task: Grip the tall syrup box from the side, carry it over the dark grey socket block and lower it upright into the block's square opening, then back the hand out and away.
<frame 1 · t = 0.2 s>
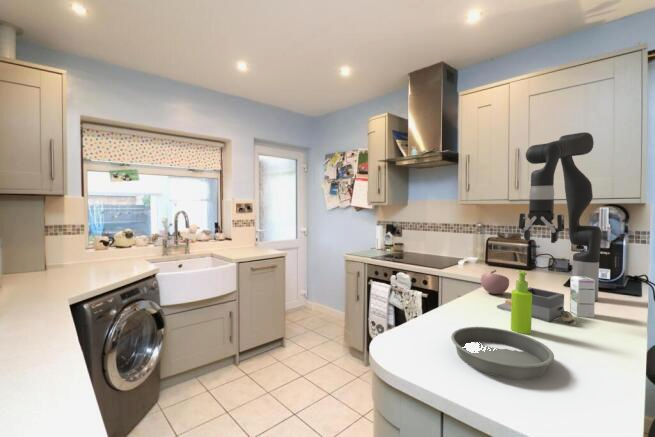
hand: (540, 241, 117), 29 cm above the worktop, tool pointing down, fingers open, 8 cm apart
pink apple: (494, 294, 150), on the worktop
soap dispenser: (520, 330, 106), on the worktop
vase: (565, 324, 112), on the worktop
syrup box: (581, 315, 121), on the worktop
cake pan: (498, 359, 86), on the worktop
socket: (538, 314, 121), on the worktop
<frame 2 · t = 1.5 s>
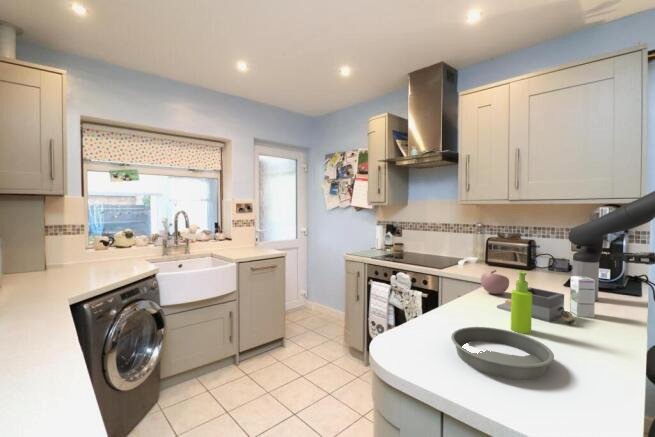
hand: (615, 256, 111), 24 cm above the worktop, tool horizontal, fingers open, 8 cm apart
nothing on the worktop moved.
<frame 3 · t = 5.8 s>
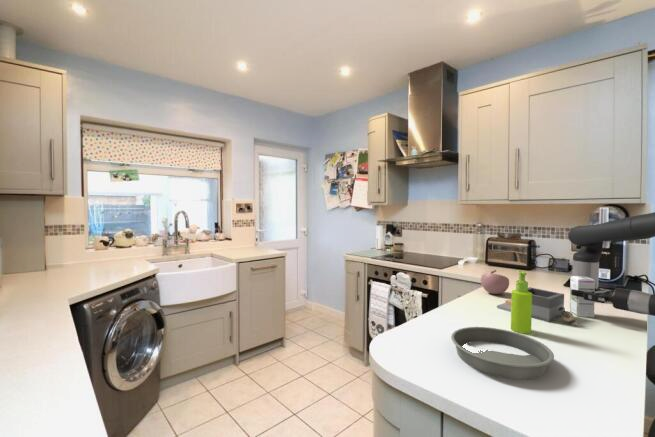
hand: (576, 290, 122), 9 cm above the worktop, tool horizontal, fingers closed on syrup box, 8 cm apart
syrup box: (581, 315, 121), on the worktop, touching gripper
everything else where it was.
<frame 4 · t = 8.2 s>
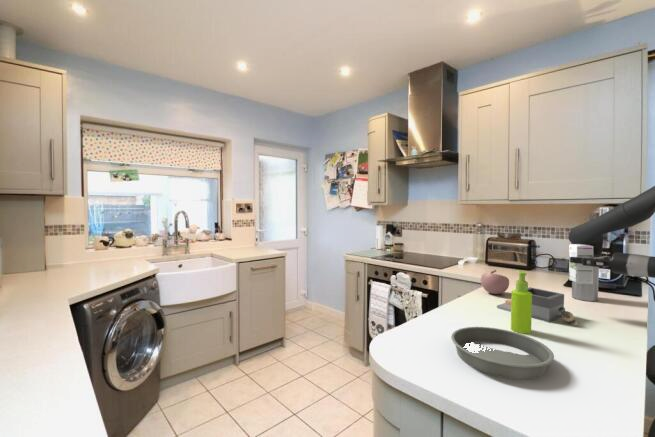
hand: (575, 258, 122), 22 cm above the worktop, tool horizontal, fingers closed on syrup box, 8 cm apart
syrup box: (580, 282, 121), point 12 cm above the worktop, touching gripper
everything else where it was.
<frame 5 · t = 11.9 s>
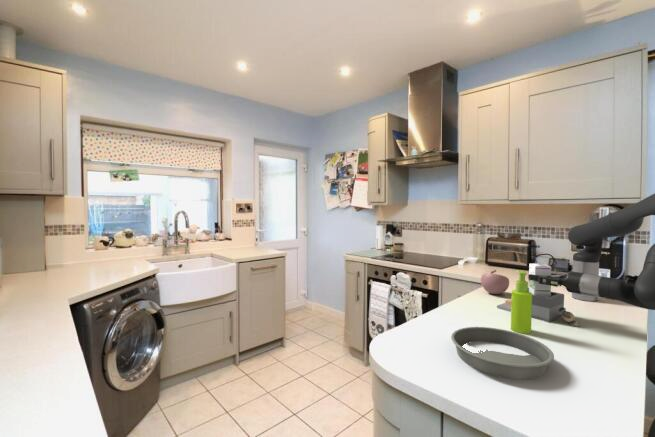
hand: (534, 275, 122), 15 cm above the worktop, tool horizontal, fingers closed on syrup box, 8 cm apart
syrup box: (539, 302, 121), point 5 cm above the worktop, touching gripper, socket
everything else where it was.
when the fingers open (15 cm above the worktop, at t = 12.5 s): syrup box stays where it is, resting on socket.
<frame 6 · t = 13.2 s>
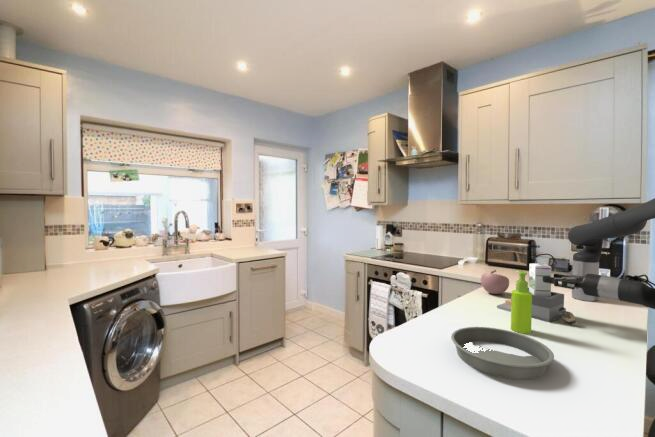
hand: (548, 277, 118), 15 cm above the worktop, tool horizontal, fingers open, 8 cm apart
syrup box: (539, 302, 121), point 5 cm above the worktop, touching socket
everything else where it was.
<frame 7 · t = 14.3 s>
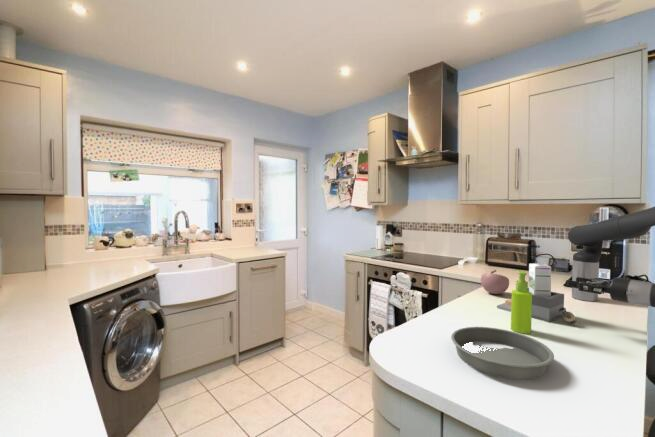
hand: (571, 281, 112), 15 cm above the worktop, tool horizontal, fingers open, 8 cm apart
nothing on the worktop moved.
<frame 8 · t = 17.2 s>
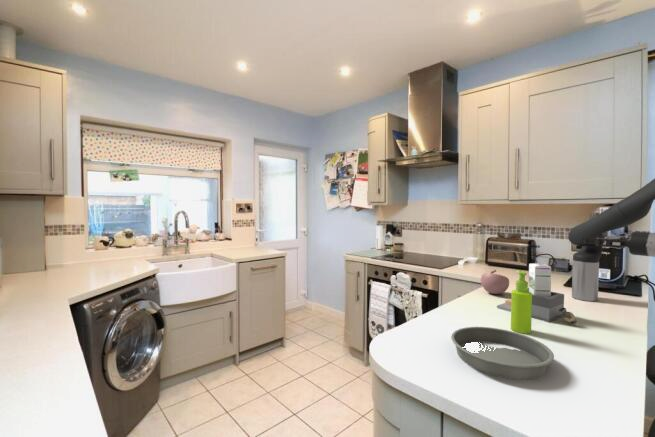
hand: (588, 239, 112), 30 cm above the worktop, tool horizontal, fingers open, 8 cm apart
nothing on the worktop moved.
at the end: syrup box 0.1 cm off-centre on the socket, point 4.8 cm above the socket's base; syrup box tilted 0°; the gripper is holding nothing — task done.
